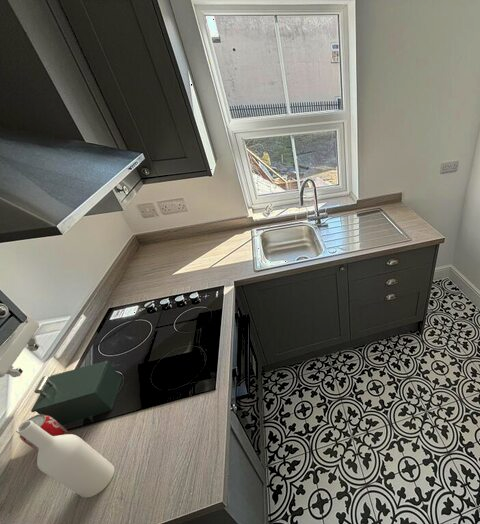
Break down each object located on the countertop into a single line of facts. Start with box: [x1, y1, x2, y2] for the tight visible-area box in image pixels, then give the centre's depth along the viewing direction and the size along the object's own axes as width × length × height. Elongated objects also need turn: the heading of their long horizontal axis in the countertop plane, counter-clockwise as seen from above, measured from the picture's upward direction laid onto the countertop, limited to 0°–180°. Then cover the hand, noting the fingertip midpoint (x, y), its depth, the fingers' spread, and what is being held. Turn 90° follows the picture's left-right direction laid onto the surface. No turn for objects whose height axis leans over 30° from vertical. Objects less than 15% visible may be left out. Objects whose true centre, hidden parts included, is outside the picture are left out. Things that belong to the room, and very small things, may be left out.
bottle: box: [16, 419, 115, 498], centre depth 72 cm, size 8×8×30 cm
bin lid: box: [30, 360, 109, 413], centre depth 93 cm, size 16×13×5 cm
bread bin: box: [35, 361, 123, 427], centre depth 97 cm, size 16×13×10 cm
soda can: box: [18, 414, 71, 452], centre depth 85 cm, size 7×7×12 cm
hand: (27, 361), depth 85 cm, fingers open, 8 cm apart
